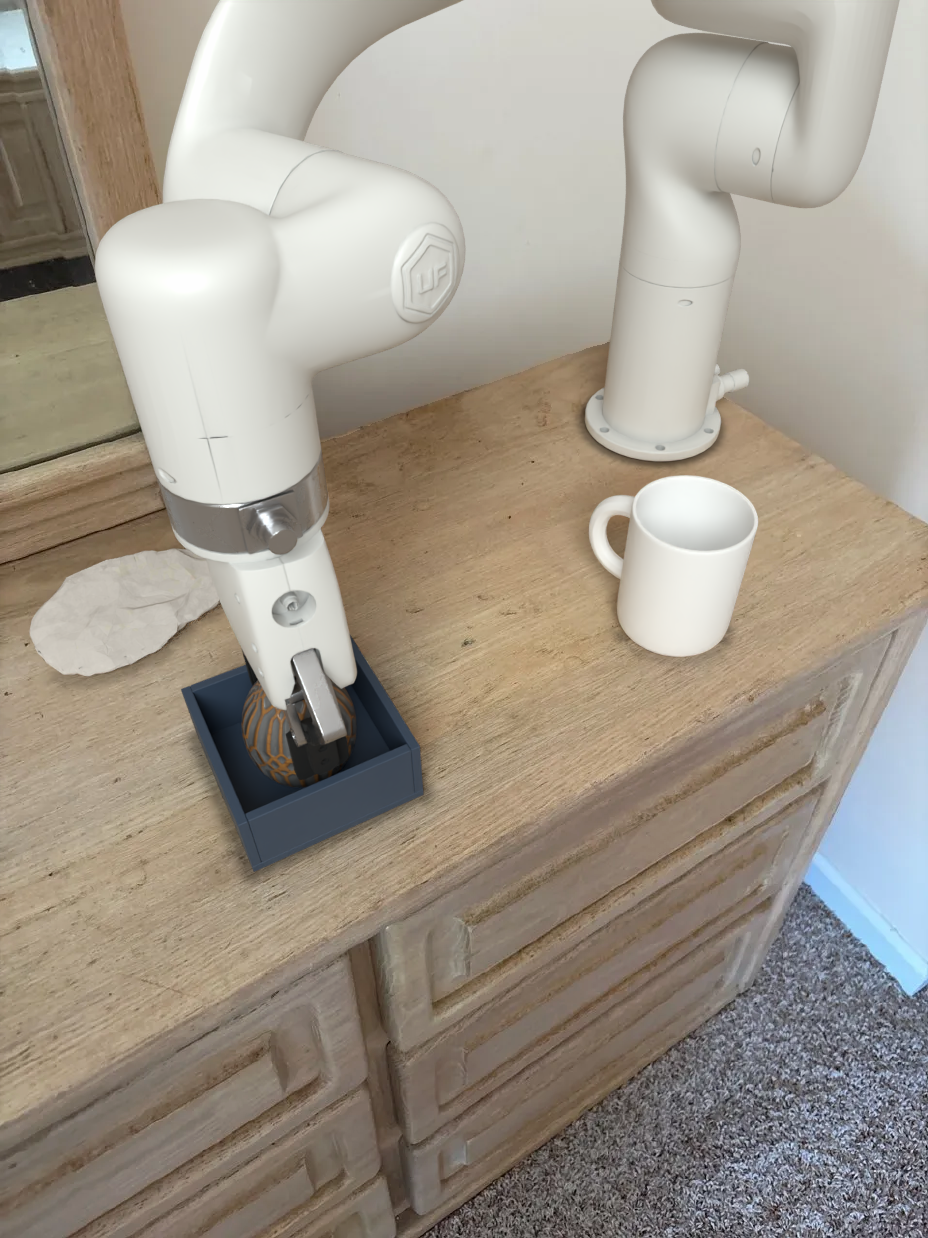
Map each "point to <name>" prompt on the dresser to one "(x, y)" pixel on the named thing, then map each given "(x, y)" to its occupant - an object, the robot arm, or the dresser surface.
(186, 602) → the stone tool
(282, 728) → the vase
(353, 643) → the bin
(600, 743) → the dresser surface
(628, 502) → the mug
